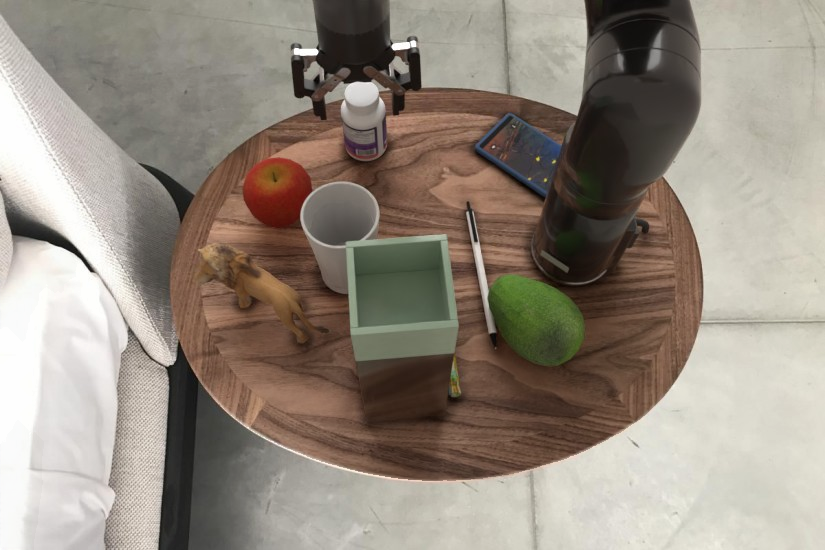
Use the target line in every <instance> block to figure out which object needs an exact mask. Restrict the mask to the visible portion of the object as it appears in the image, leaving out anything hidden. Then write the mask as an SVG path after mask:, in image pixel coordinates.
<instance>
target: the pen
mask: <svg viewBox="0 0 825 550" xmlns="http://www.w3.org/2000/svg"><path fill="white" fill-rule="evenodd" d="M465 204H466V208H467V209H466V210H465V214H466V219H467V226H468V231H469V236H470V241H471V246H472V252H473V257H474V262H475V267H476V274H477V278H478V283H479V289H480V295H481V301H482V305H483V310H484V317H485V322H486V327H487V332H488V336H489V339H490V340H491V343H492V346H493V348H494V349H495V350H496V349H497V346H498V345H497V344H498V331H497V325H496V322H495V319H494V317H493V315H492V313H491V311H490V309H489V304H488V299H487V297H488V293H489V286H488V281H487V274H486V270H485V264H484V259H483V254H482V250H481V244H480V239H479V233H478V229H477V224H476V223H477V222H476V218H475V213H474V209H472V208H471V203H470V201H468V200H467V201H466V202H465Z"/></svg>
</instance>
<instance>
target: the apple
mask: <svg viewBox="0 0 825 550" xmlns="http://www.w3.org/2000/svg"><path fill="white" fill-rule="evenodd" d="M312 192H313V185H312V179H311V176H310V175H309V173H308V172H307V170H306V169H305V168H304V167H303V165H302V164H301V163H299V162H296V161H295V160H292V159H291V158H285V157H280V156H279V157H270V158H269V157H268V158H265V159H263V160H261V161H260V162H257V163H255V164H254V165H253V167H251V169H250V170H249V171H248V172H247V173H246V175H245V178H244V181H243V185H242V196H243V201H244V204H245V205H246V207H247V209H248V210H249V212H250V214H251V215H252V216H253V217H254V219H255V220H257V221H259V222H260V223H261V224H263V225H264V226H266V227H268V228H273V229H280V230H281V229H284V228H288V227H290V226H292V225H294V224H295V223H296V222H298V221H299V220H301V219H300V214H301V209H302V206H303V203H304V202H305V200H306V198H307V197H308V196H309V195H310V194H311V193H312Z"/></svg>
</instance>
